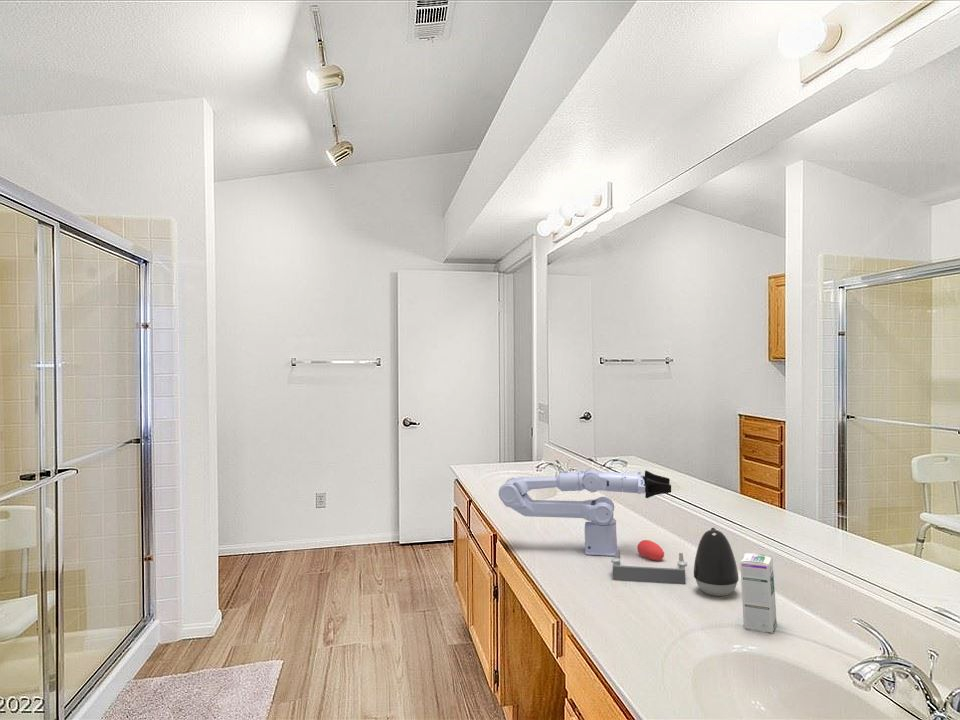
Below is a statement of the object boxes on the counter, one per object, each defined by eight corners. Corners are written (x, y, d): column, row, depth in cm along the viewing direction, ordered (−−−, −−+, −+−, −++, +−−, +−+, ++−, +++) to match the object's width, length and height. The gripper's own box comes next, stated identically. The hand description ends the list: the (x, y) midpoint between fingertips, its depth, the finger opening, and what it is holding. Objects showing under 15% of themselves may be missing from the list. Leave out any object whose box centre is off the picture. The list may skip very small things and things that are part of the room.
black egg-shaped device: (737, 586, 150) (734, 525, 150) (741, 602, 140) (738, 536, 140) (694, 582, 154) (691, 523, 154) (694, 598, 144) (691, 534, 144)
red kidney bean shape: (644, 567, 170) (654, 549, 169) (630, 547, 178) (639, 530, 177) (658, 571, 172) (669, 553, 170) (644, 551, 180) (654, 533, 178)
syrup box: (773, 634, 124) (770, 563, 124) (742, 628, 127) (739, 559, 127) (776, 623, 129) (773, 555, 129) (746, 618, 132) (744, 552, 132)
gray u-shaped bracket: (610, 579, 158) (609, 564, 158) (614, 562, 171) (613, 547, 172) (688, 584, 153) (687, 568, 153) (685, 566, 166) (685, 551, 166)
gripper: (622, 474, 173) (672, 477, 169) (623, 463, 187) (669, 466, 183) (622, 499, 173) (671, 502, 170) (622, 486, 187) (668, 489, 184)
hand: (670, 485), depth 176 cm, fingers open, 7 cm apart
